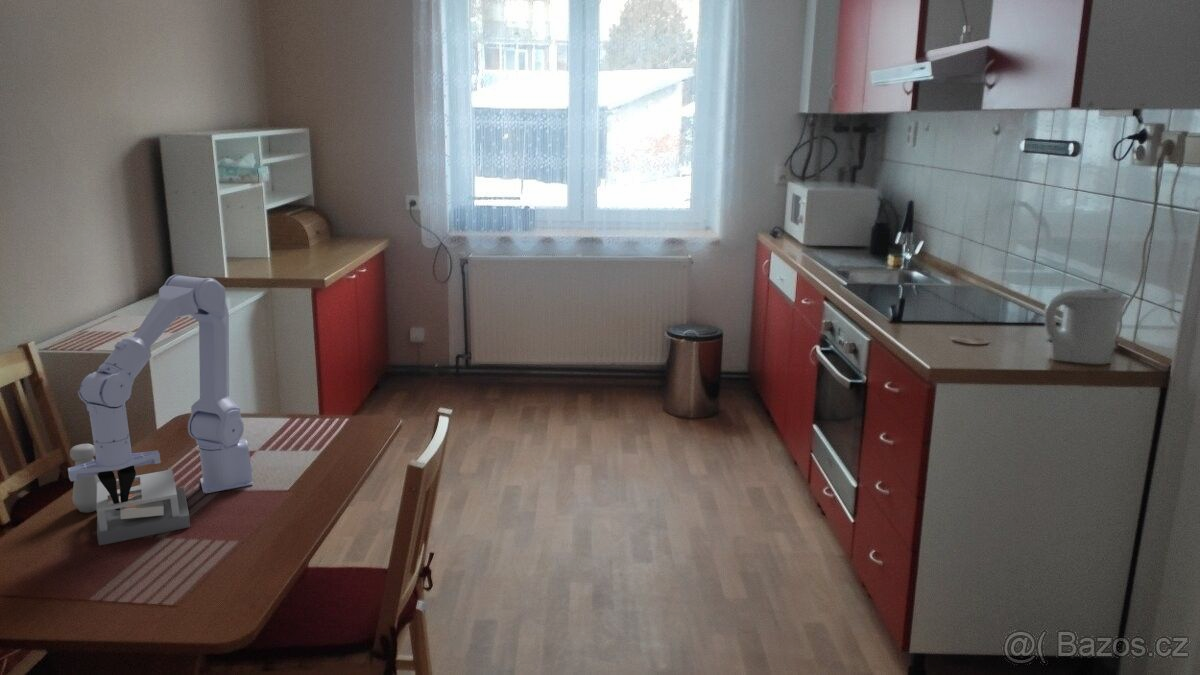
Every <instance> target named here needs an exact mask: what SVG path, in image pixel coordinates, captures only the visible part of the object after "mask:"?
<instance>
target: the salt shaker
mask: <svg viewBox="0 0 1200 675" xmlns="http://www.w3.org/2000/svg"><path fill="white" fill-rule="evenodd" d="M69 455H70V456H69V457H70V458H71V460H72V461H74V467H75V466H78V465H82V464H85V463H88V462H91V461H95V458H94V457H96V456H95V449H94V444H91V443H80V444H76V445H73V446H72V447H71V448H70V449H69ZM97 482H101V481H100V480H99V478H98V476H97V475H93V476H89V477H84V478H79V479H78V480H76V481H73V484H72V485H73V487H72V499H71V500H72V502H73V504H74V506H75V507H76V508H77V510H78V511H79V512H80V513H86V514H87V513H93V512H97Z"/></svg>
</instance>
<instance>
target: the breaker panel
mask: <svg viewBox="0 0 1200 675" xmlns="http://www.w3.org/2000/svg"><path fill="white" fill-rule="evenodd" d="M173 471H174V470H173V469H166V470H160V471H156V472H149V473H144V474H136V476H135V479H134V481H133V482H135V481H140V482H139V483H140V484H141V486H137V485H134V486H135V487H134V486H131V489H130V492H129V495H130V494H135V493H141V494H142V499H138V500H133V501H127V502H122V503H120V502H119V503H117V504H113V500H109V499H112V498H111V496H110V494H109V492H108V491H107V489H106V488H105V487H104V485H103V484H102V483H101V482H97V511H96V513H97V516H96V518H97V519H96V536H97V542H98V546H104V545H109V544H115V543H119V542H124V541H127V540H133V539H138V538H143V537H149V536H153V535H159V534H163V533H167V532H173V531H178V530H182V529H188V528H191V523H190V522H191V521H190V513H189V508H188V503H187V498H186V494H185V489H184V487H178V488H176V481H175V476H174V472H173ZM116 485H119V479H118V478H116ZM117 494H118V498H119V496H120V488H119V489H118V488H117ZM160 500H163V505H164V515H160V516H149V517H139V518H129V519H121V517H120V510H116V509H117V508H123V507H128V506H133V505H138V504H144V503H149V502H154V501H160Z"/></svg>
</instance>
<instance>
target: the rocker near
mask: <svg viewBox="0 0 1200 675" xmlns="http://www.w3.org/2000/svg"><path fill="white" fill-rule="evenodd" d="M138 499H142V498H131V499H128V501H133V500H138ZM120 503H121V499H120ZM160 515H164V505H163V500H160V501H154V502H149V503H144V504H138V505H133V506H128V507H123V508H120V517H121V519H129V518H139V517H149V516H160Z"/></svg>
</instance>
